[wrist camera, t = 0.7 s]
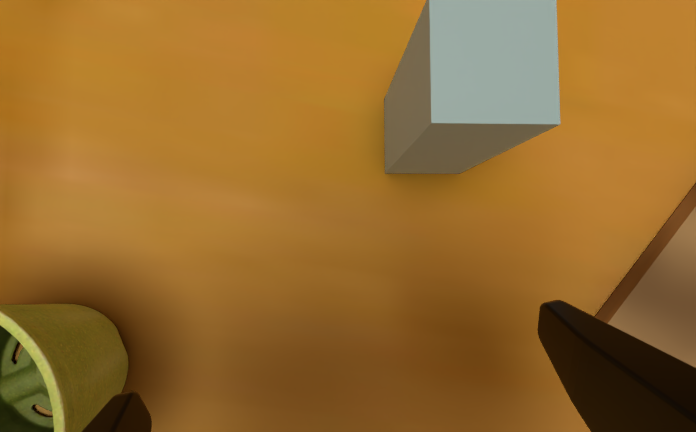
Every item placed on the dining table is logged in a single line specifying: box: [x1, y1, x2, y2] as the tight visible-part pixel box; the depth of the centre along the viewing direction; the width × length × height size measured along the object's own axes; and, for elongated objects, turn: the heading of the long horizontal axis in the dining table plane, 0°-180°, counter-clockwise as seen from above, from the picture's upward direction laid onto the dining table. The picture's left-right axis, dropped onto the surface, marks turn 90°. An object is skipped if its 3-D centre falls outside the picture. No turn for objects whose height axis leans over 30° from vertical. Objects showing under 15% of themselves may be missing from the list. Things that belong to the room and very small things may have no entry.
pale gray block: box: [384, 0, 560, 174], centre depth 18 cm, size 4×4×10 cm
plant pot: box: [0, 304, 128, 432], centre depth 17 cm, size 9×9×9 cm
